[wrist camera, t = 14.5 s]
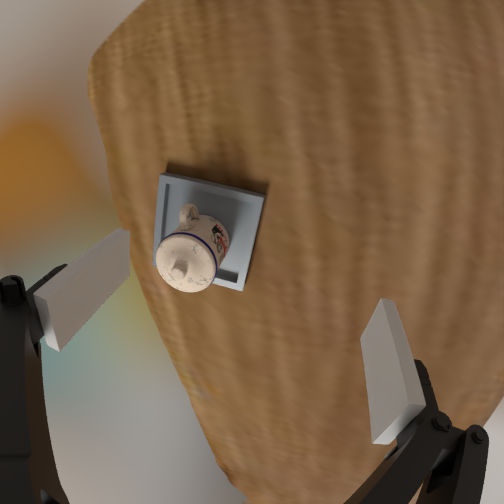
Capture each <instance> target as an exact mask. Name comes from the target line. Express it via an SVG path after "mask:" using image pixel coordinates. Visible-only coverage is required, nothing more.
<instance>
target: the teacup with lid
mask: <svg viewBox="0 0 504 504" xmlns="http://www.w3.org/2000/svg"><path fill="white" fill-rule="evenodd" d="M189 212H190V215H191V217H190V218H188V215H189ZM229 244H230V242H229V236H228V233H227V231H226V229H225V227H224V226H223V225H222V224H221V223H220V222H219V221H218V220H216V219H215V218H213V217H211V216H207V215H199V214H198V210H197V208H196V206H195V205H194V204H192V203H187V204H184V205H183V206H182V208H181V210H180V226H179V227H178V228H177V229H176V230H175V231H174V232H172V233H171V234H170V235H168V236H166V237H165V238H164V239H163V240H162V241H161V242H160V244H159V245H158V248H157V251H156V265H157V268H158V271H159V273H160V274H161V276H162V277H163V279H164V280H165V281H166V282H167V283H168V284H169V285H171V286H172V287H174V288H176V289H178V290H181V291H184V292H197V291H201V290H203V289H205V288H207V287H208V286H209V285H211V283H212V282H213V281H214V279H215V277H216V274H217V270H218V268H219V267H220V265H221V263H222V261H223V259H224V258H225V256H226V254H227V252H228V250H229Z"/></svg>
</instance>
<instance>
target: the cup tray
mask: <svg viewBox="0 0 504 504" xmlns="http://www.w3.org/2000/svg"><path fill="white" fill-rule="evenodd" d="M265 195H266V194H262V193H258V192H253V191H249V190H245V189H241V188H237V187H232V186H228V185H224V184H219V183H215V182H210V181H206V180H201V179H197V178H192V177H187V176H183V175H178V174H173V173H168V172H164V173H162V174H160V177H159V186H158V196H157V207H156V219H155V233H154V249H153V266H156V267H157V265H156V251H157V248H158V245H159V244H160V242H161V241H162V240H163V239H164V238H165V237H166V236H168V235H170V234H171V233H172V232H174V231H175V230H176V229H177V228H178V227H179V226H180V210H181V208H182V206H183V205H184V204H187V203H192V204H194V205H195V206H196V208H197V210H198V214H199V215H207V216H211V217H213V218H215V219H216V220H218V221H219V222H220V223H221V224H222V225H223V226H224V227H225V229H226V231H227V233H228V236H229V242H230V244H229V250H228V252H227V254H226V256H225V258H224V259H223V261H222V263H221V265H220V267H219V268H218V270H217V274H216V277H215V279H214V281H213V282H212V283H214V284H218V285H221V286H225V287H228V288H232V289H236V290H239V291H243V289H244V286H245V282H246V278H247V273H248V269H249V265H250V260H251V256H252V252H253V247H254V243H255V238H256V234H257V230H258V225H259V221H260V217H261V212H262V208H263V203H264V199H265ZM190 217H191V215H190V212H189V215H188V218H190Z"/></svg>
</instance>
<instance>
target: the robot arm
mask: <svg viewBox="0 0 504 504" xmlns="http://www.w3.org/2000/svg"><path fill="white" fill-rule="evenodd" d="M129 260H130V231H127V230H124V229H120V228H117V229H116V230H114V231H113V232H112V233H110V234H109V235H107V236H106V237H105V238H103V239H102V240H101V241H99V242H98V243H96V244H95V245H94V246H92V247H91V248H90V249H88V250H87V251H86V252H84V253H83V254H82V255H80V256H79V257H78V258H77V259H75V260H74V261H73V262H71V263H70V264H69V265H67V264H63V265H61V266H58V267H56V268H54V269H53V270H52V271H51V272H49V274H47V275H46V276H44V277H43V279H41V280H39V281H38V282H37V283H35V284H34V285H33V286H32V287H31V288H30V289H28V290H27V291H25V286H24V282H23V279H22V278H21V277H19V276H16V275H10V276H6V277H4V278H2V279H1V280H0V504H69V501H68V498H67V496H66V494H65V492H64V490H63V489H62V486H61V484H60V481H59V477H58V473H57V469H56V464H55V460H54V455H53V450H52V445H51V440H50V435H49V428H48V423H47V416H46V407H45V399H44V389H43V377H42V362H41V361H42V360H41V344H40V341H39V340H40V339H41V338H42V337H43V336H45V340H46V343H47V345H48V346H50V347H52V348H54V349H56V350H58V351H59V352H60V351H61V350H62V349H63V347H64V346H65V345H66V344H67V343H68V342H69V341H70V340H71V338H72V337H73V336H74V335H75V334H76V333H77V332H78V331H79V329H80V328H81V327H82V326H83V325H84V324H85V323H86V322H87V321H88V319H89V318H90V317H91V316H92V315H93V314H94V313H95V312H96V311H97V310H98V308H99V307H100V306H101V305H102V304H103V303H104V302H105V301H106V300H107V299H108V298H109V297H110V295H112V293H113V292H114V291H115V290H116V289H117V288H118V287H119V286H120V285H121V284H122V283H123V282H124V281H125V280H126V279H127V278H128V277H129V276H130V272H129V271H130V264H129V263H130V261H129ZM360 340H361V347H362V354H363V361H364V368H365V376H366V384H367V392H368V401H369V411H370V421H371V433H372V443H373V444H389V443H391V442H392V441H393V440H394V439H395V438H396V439H397V445H396V446H395V447H394V448H393V449H392V450H391V451H390V452H389V453H388V454H386V455H385V456H384V458H385V459H384V460H383V462H382V463H381V464H380V465H379V466H378V467H377V469H376V470H375V471H374V472H373V473H372V474H371V475H370V477H369V478H368V479H367V480H366V481H365V482H364V483H363V484H362V485H361V486H360V487H359V489H358V490H357V491H356V492H355V493H354V494H353V495H352V496H351V497H350V498H349V499H348V500H347V501H346V502H345V503H344V504H408V503H409V502H410V500H411V499H412V498H413V496H414V495H415V493H416V492H417V490H418V489H419V487H420V486H421V484H422V483H423V485H422V488H421V491H420V494H419V497H418V499H417V502H416V504H480V500H481V495H482V490H483V484H484V478H485V471H486V464H487V456H488V447H489V437H488V434H487V432H486V431H485V430H484V429H483V428H482V427H481V426H479V425H476V424H475V425H471V426H470V427H469V428H468V429H467V430H465V431H464V430H461V429H458V428H456V427H453V426H452V422H451V420H450V419H449V417H448V416H447V415H446V414H445V413H443V412H441V411H439V409H438V406H437V402H436V399H435V395H434V392H433V388H432V387H431V382H430V380H429V375H428V372H427V369H426V367H425V366H424V365H423V363H422V362H421V361H420V360H415V359H413V356H412V353H411V350H410V346H409V343H408V340H407V337H406V334H405V331H404V328H403V325H402V322H401V319H400V316H399V314H398V311H397V308H396V305H395V302H394V301H392V300H388V299H384V298H381V299H380V301H379V303H378V305H377V307H376V309H375V311H374V313H373V315H372V317H371V319H370V321H369V323H368V325H367V327H366V329H365V330H364V332H363V334H362V336H361V338H360ZM423 481H424V482H423Z"/></svg>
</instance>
